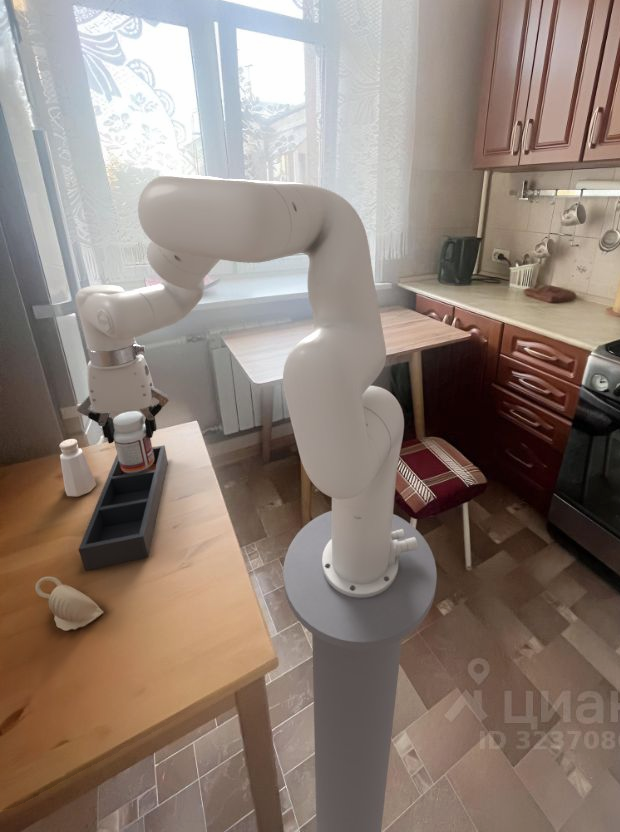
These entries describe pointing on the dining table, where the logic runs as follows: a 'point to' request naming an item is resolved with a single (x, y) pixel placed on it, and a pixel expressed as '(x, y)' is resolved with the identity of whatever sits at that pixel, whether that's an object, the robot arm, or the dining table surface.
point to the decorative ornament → (69, 605)
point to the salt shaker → (75, 469)
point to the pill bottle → (132, 442)
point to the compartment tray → (124, 515)
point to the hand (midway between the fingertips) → (132, 436)
